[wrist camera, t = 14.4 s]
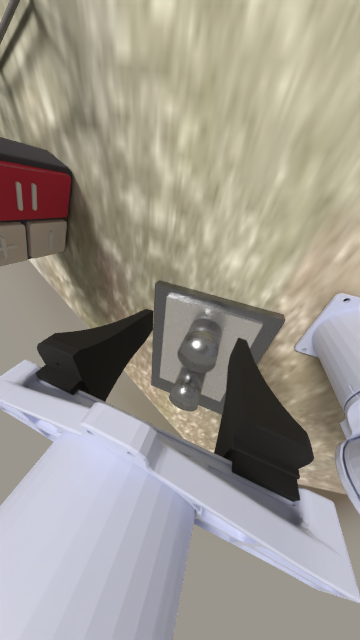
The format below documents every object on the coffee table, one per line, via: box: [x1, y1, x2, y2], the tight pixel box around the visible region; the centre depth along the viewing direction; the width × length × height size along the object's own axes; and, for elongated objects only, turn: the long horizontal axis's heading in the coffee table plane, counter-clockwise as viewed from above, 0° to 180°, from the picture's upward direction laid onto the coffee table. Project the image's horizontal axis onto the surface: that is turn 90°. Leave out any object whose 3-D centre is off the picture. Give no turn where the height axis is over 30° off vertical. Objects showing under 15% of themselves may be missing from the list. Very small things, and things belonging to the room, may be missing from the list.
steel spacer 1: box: [177, 318, 222, 373], centre depth 20 cm, size 4×4×5 cm
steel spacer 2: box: [169, 366, 205, 411], centre depth 26 cm, size 4×4×5 cm
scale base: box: [151, 281, 285, 415], centre depth 27 cm, size 16×24×2 cm, turn 172°
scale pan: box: [160, 295, 263, 402], centre depth 25 cm, size 12×18×1 cm, turn 172°
